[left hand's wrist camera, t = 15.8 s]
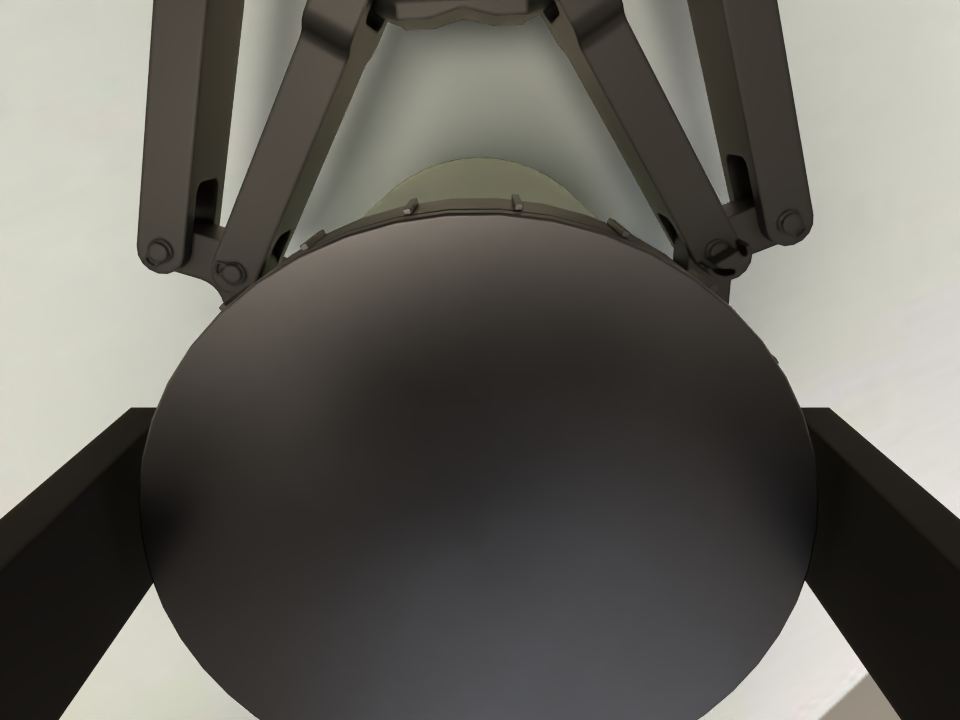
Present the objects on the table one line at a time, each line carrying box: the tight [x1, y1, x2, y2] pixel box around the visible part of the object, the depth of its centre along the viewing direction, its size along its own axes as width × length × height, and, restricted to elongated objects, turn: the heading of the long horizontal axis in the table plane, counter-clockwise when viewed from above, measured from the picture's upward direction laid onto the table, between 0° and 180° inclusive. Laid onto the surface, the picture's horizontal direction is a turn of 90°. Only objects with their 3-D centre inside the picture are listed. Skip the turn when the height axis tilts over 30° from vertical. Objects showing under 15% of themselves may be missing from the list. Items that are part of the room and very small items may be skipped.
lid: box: [138, 194, 819, 720], centre depth 11 cm, size 11×11×2 cm
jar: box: [362, 158, 598, 220], centre depth 18 cm, size 10×10×15 cm
